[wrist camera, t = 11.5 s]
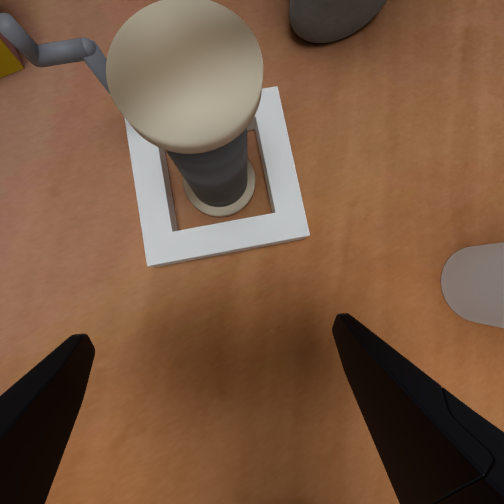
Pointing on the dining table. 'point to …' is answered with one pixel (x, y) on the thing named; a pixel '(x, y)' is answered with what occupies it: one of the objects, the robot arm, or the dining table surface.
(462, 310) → the cylindrical container
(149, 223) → the rectangular frame
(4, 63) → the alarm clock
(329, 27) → the vase
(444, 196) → the dining table surface
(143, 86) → the disc
